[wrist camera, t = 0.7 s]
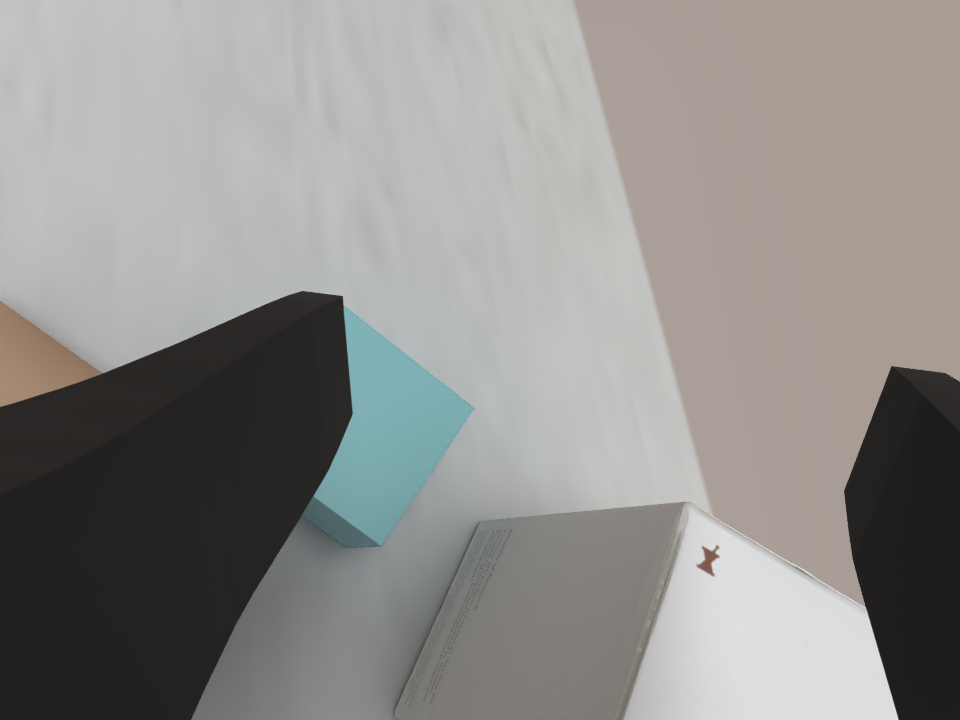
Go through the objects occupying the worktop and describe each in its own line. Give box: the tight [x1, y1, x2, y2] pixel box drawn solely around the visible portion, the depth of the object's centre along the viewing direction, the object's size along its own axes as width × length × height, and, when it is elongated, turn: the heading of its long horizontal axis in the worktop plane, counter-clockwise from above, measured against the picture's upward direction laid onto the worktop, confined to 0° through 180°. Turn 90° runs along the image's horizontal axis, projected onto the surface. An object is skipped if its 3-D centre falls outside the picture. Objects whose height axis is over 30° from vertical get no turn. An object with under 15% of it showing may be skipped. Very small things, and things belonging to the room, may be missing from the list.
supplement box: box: [394, 502, 898, 720], centre depth 21 cm, size 7×7×13 cm
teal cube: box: [302, 307, 474, 548], centre depth 24 cm, size 5×5×5 cm
